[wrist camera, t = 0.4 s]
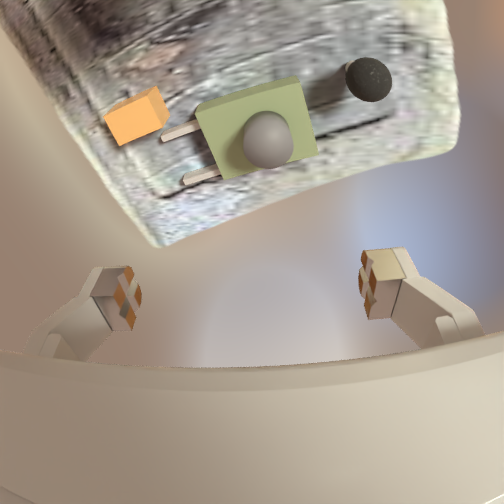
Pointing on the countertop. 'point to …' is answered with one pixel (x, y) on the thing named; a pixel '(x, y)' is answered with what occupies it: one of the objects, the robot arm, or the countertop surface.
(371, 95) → the light bulb
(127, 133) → the tall orange cuboid
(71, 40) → the countertop surface
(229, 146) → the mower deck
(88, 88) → the countertop surface
